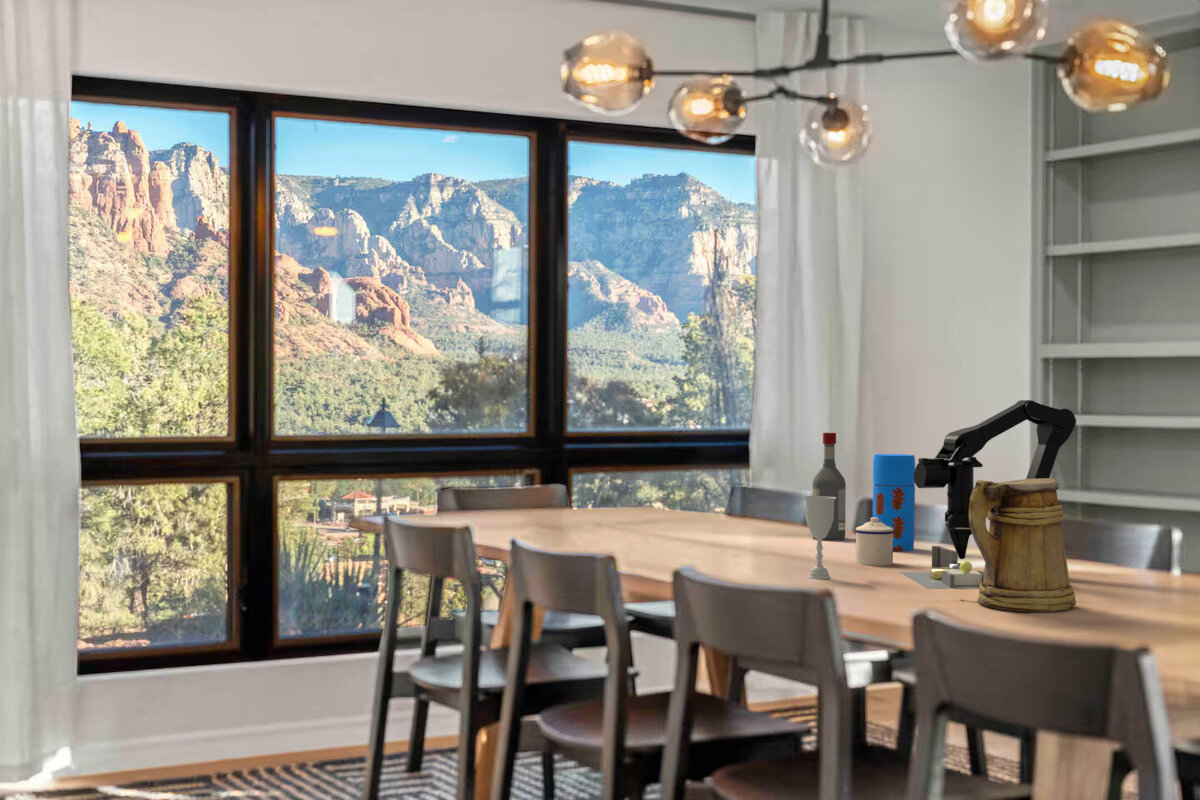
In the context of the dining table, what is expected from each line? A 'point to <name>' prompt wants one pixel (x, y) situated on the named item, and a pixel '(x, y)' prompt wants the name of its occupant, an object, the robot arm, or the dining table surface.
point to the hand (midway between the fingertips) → (960, 556)
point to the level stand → (945, 583)
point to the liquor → (832, 487)
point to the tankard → (1021, 545)
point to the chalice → (819, 528)
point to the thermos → (895, 497)
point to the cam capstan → (943, 561)
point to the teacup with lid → (874, 544)
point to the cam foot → (965, 575)
